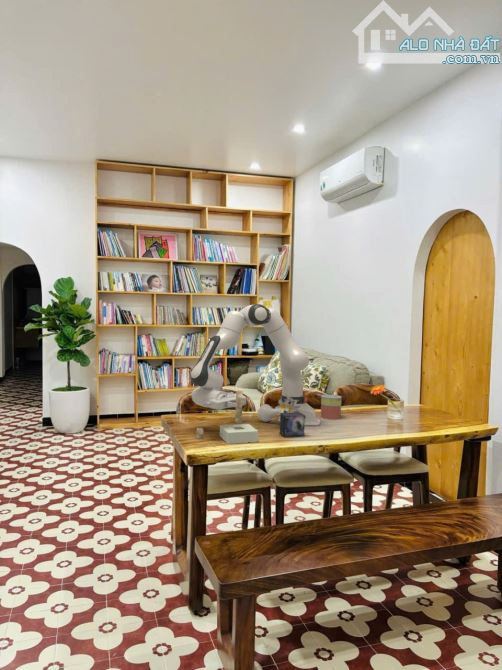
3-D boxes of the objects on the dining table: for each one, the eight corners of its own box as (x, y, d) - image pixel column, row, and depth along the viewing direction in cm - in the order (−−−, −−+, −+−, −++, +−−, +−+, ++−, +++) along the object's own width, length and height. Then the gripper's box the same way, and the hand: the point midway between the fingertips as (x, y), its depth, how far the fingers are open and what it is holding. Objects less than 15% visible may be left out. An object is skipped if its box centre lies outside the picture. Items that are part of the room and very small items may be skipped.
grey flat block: (248, 434, 230) (248, 423, 230) (257, 442, 217) (258, 431, 216) (219, 435, 226) (220, 425, 225) (227, 444, 212) (227, 432, 212)
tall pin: (242, 421, 222) (242, 391, 221) (241, 422, 219) (242, 392, 218) (235, 420, 222) (236, 390, 221) (234, 422, 219) (235, 391, 218)
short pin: (203, 437, 222) (203, 428, 221) (202, 439, 219) (202, 429, 218) (197, 437, 222) (197, 427, 222) (195, 439, 219) (196, 429, 219)
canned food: (342, 420, 264) (343, 398, 263) (321, 419, 264) (322, 397, 264) (339, 415, 275) (339, 394, 275) (319, 415, 276) (320, 394, 275)
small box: (283, 437, 225) (284, 415, 225) (279, 434, 231) (279, 412, 231) (304, 436, 228) (305, 414, 228) (299, 433, 234) (300, 411, 234)
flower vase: (258, 435, 254) (292, 432, 236) (248, 401, 254) (281, 396, 236) (275, 426, 263) (309, 424, 245) (265, 394, 263) (298, 389, 245)
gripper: (203, 396, 220) (224, 400, 211) (233, 391, 236) (254, 395, 227) (202, 409, 221) (224, 414, 212) (232, 404, 236) (254, 408, 227)
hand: (240, 404), depth 220 cm, fingers closed on tall pin, 3 cm apart
